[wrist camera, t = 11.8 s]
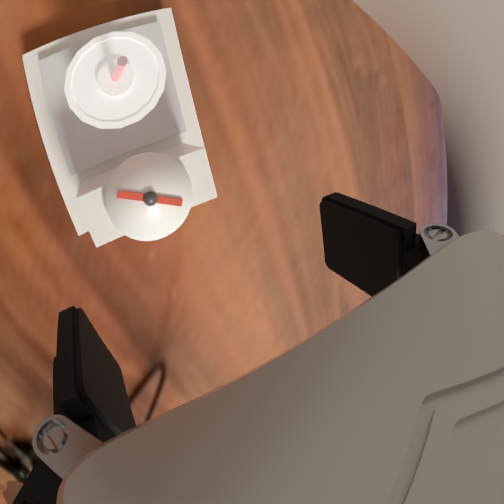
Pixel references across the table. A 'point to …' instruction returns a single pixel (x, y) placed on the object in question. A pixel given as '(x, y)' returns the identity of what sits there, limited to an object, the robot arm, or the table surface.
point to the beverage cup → (115, 80)
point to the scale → (123, 142)
